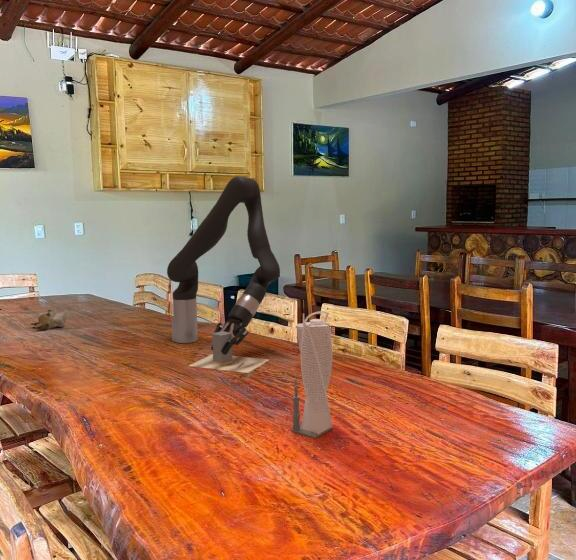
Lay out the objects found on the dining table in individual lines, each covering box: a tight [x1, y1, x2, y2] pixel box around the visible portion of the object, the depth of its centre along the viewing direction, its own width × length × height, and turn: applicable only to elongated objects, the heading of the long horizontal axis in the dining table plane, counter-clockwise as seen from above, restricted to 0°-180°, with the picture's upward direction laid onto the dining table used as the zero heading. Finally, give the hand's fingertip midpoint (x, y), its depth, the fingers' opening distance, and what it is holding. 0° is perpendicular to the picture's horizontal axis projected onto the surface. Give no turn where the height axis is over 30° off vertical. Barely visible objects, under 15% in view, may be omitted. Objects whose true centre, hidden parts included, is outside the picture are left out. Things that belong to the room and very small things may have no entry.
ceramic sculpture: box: [30, 309, 67, 330], centre depth 242 cm, size 11×9×15 cm
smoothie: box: [295, 313, 305, 353], centre depth 198 cm, size 6×6×14 cm
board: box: [188, 353, 270, 379], centre depth 179 cm, size 22×16×2 cm
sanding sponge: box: [211, 332, 233, 365], centre depth 178 cm, size 4×4×10 cm
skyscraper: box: [290, 310, 333, 439], centre depth 126 cm, size 8×8×28 cm
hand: (218, 351), depth 177 cm, fingers closed on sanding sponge, 4 cm apart
